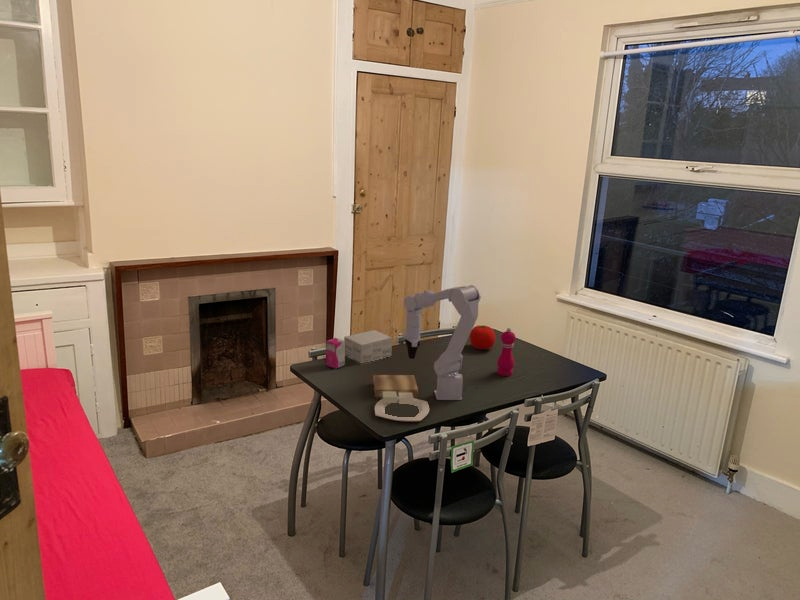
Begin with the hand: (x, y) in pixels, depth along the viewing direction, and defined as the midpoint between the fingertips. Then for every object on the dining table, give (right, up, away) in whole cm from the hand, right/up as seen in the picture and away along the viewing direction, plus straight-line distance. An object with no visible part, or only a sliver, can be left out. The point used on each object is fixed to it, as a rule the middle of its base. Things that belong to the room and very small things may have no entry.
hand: (411, 358), depth 236 cm
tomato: (+34, 0, +45) cm, 56 cm away
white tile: (-3, -14, -19) cm, 24 cm away
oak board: (-7, -12, -7) cm, 15 cm away
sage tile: (-8, -13, -19) cm, 25 cm away
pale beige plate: (-4, -17, -24) cm, 30 cm away
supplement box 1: (-32, -5, +15) cm, 35 cm away
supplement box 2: (-19, -2, +28) cm, 34 cm away
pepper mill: (+40, -8, +15) cm, 43 cm away
